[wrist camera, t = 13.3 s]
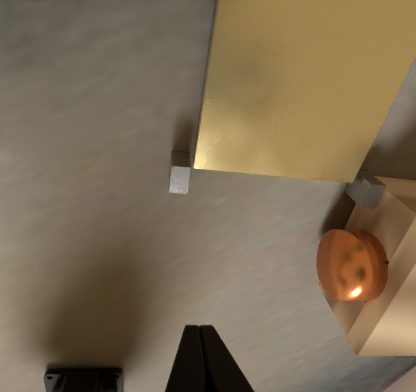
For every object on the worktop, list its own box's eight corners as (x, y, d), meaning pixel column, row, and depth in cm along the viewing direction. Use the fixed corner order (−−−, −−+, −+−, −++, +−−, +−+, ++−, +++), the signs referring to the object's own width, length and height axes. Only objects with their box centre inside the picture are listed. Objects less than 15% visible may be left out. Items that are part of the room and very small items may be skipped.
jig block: (395, 288, 26) (450, 355, 21) (318, 285, 25) (357, 356, 20) (460, 184, 21) (552, 238, 16) (368, 175, 20) (436, 231, 15)
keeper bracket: (358, 192, 21) (375, 208, 19) (169, 175, 19) (169, 192, 17) (367, 170, 20) (386, 185, 18) (171, 151, 18) (171, 165, 16)
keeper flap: (346, 176, 20) (352, 183, 19) (192, 161, 18) (193, 168, 18) (447, -34, 14) (460, -34, 13) (229, -84, 12) (232, -88, 12)
